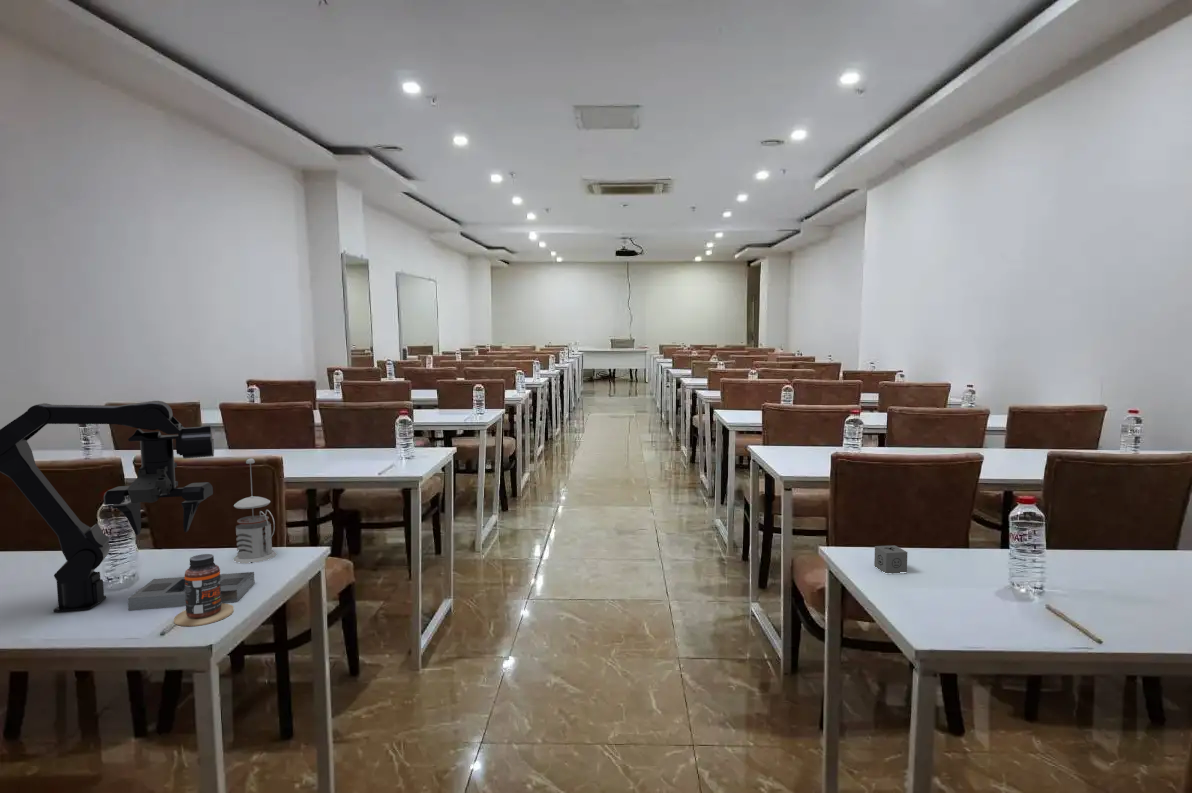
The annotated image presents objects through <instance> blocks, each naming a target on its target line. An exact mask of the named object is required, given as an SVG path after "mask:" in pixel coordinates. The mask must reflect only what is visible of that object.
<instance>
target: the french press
mask: <svg viewBox="0 0 1192 793" xmlns="http://www.w3.org/2000/svg"><path fill="white" fill-rule="evenodd" d="M255 462H256V461H255V459H254V458H248V459H246V460H245V464H247V465H248V464H249V470H250V471H249V473H250V476H249V477H250V493H251V496H248V497H245V498H241V499H240V500H238V501H236V502H235V503H234V505H233V507H234V508H235V509H241V510H246V509H247V510H248V509H249V510H250V509H251V512H252V515H249V516H243V517H241V518H239V519H237V520H236V523H237V524H238V525H236V526H235V534H236V536H237V537H236V539H235V540H236V546H237V547H236V551H237V553H236V554H237V555H235V557H233V559H234V561H236V562H240V563H239V564H242V563H245V564H250V563H249V562H256V563H260V562H259V561H262V562H264V561H263V560H265V561H269V560H271V559H273V558H275V557H276V556H277V552H276V551H275V550H274V549H273V544H272V543H273V542H272V540H273V539H272V537H273V535H274V534H275V528H276V526H275V525H276V523H275V519H274V516H273V514H272V513H271V511H270V510H269V509H265V513H264V512H263V511H262V510H259V515H254V509H256V508H258V509H259V508H263V507H266V506H268V505H270V503H271V500H270V499H268V498H266V497H262V496H255V495H254V496H253V478H252V477H253V476H252V464H255ZM268 513H269V515H270V516H271V519H272V522H273V530H272V526H271V525H272V523H271V522H270V521H269V519H270V516H267V514H268ZM263 529H264V530H263ZM264 533H265V534H264ZM270 558H271V559H270ZM268 559H269V560H268Z"/></svg>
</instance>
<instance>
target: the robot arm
mask: <svg viewBox="0 0 1192 793" xmlns="http://www.w3.org/2000/svg"><path fill="white" fill-rule="evenodd" d="M47 425H118V426H125V427H129V428H134V429H136V430H135V431H134V433H133V434H132V435H131V436H130V437H129V438H127V441H128V442H131V443H132V442H139V444H140V445H139V447H140V459H141V460H140V463H141V467H139V468H138V471H137V472H138V473H137V474H138V475H137V478H136V479H135V480H133V482H132V483H131V484H130V485H121V486H119V485H118V486H116V487H113V488H111V489H109V490H106V492H104V494H103V505H104V506H110V507H111V509H116V510H118V511H120V512H122V514H124V516H125V518H126V520H127V521H128V523H129V524H130V527H131V528H132V531H133V533H134V534H135V535H136V536H139V535H140V534H141V532H142V530H141V529H142V514H141V513H142V512H141V509H142V508H141V503H148V504H150V503H151V504H152V503H155V502H158V500H159V498H173V497H174V498H175V497H182V499H184V501H182V502H181V503H180V504H181V506H182V509H183V515H182V516H183V524H182V526H183V532H184V533H188V532H189V529H190V527H191V524H192V522H193V519H194V516H195V514H196V512H197V510H198V507H199V506H200V503H202V502H203V501H204V500H207V498H209V497H210V496H213V494H214V490H213V489H214V487H213V485H212V484H211V483H210V482H206V481H205V482H192V483H189V484H187V485H186V486H183V487H179V481H178V480H176V472H175V471H176V470H175V468H177V467H178V462H175V456H174V439H175V450H176V451H175V452H176V454H177V455H178V456H182V459H184V460H185V459H196V458H211V457H214V456H215V441H214V438H213V430H212V426H211V425H202V426H193V427H192V426H191V427H184V426H183V424H182V423H180V421H179V420H177V418H176V417H174V416H173V409H172V407H171V405H169V404H168V403H166V402H165V401H162V400H152V401H143V402H142V401H141V402H136V403H135V402H134V403H130V404H122V405H109V404H108V405H104V404H103V405H101V404H100V405H99V404H98V405H95V404H92V405H91V404H50V403H48V402H47V403H45V402H43V403H39V404H34V405H32V406H30V407H29V408H28V409H27V410H26V411H25V412H24V413H22V414H21V415H19V416H18V417H16V418H15V419H13V420H12V421H10V422H9V423H7V424H6V425H4V426H3V427H2V428H0V473H1V474H3V475H5V476H6V477H8V478H9V479H10V480H11V481H12V482H13V483H14V485H16V487H17V488H18V489H19V491H20V493H22V494H23V496H24V497H25V498H26V500H28V502H29V503H30V504H31V505H32V507H33V508H34V509H35V510H36V512H38V514H39V516H41V518H43V520H44V521H45V523H47V525H48V526H49V528H51V530H52V531H53V532H54V533H55V535H56V537H57V539H58V543H59V545H60V549H61V552H62V553H63V557H64V559H65V560H66V561H65V563H63V564H62V565H61V566H60V568H59V569H58V570H57V571H56V572H55V573H54V575H53V577H54V579H55V581H56V591H57V605H58V606H56V608H53V613H61V612H74V611H85V610H91V609H92V608H94V607H95V606H97V605H99V603H101V602H102V601H104V600H106V599H107V595H106V594H105V588H104V580H103V579H102V578H101V572H100V571H95V570H96V569H97V568H98V567H100V565H101V564H102V562H103V561H104V560H105V559H106V557H108V554H110V548H111V547H110V542H109V540H110V539H111V537H110V536H108V535H106V534H105V533H104V531H102V529H101V526H100V524H98V523H95V524H94V525H93V526H89V525H88V524H85V523H84V522H82V521H81V520H80V519H79V517H78V516H77V515H76V513H75V512H74V511H73V510H72V509H71V507H70V506H69V505H68V503H67V502H66V501H65V499H64V498H63V497H62V495H60V494H59V493H58V491H57V489H55V487H54V486H53V485H52V484H51V482H50V481H49V480H48V478H47V477H46V476H45V475H44V474H43V472H42V471H41V469H39V467H38V466H37V463H36V461H35V457H34V453H33V451H32V448H31V446H30V444H29V442H28V441H29V440H30V439H31V438H33V437H34V436H35V435H36V434H38V433H39V432H40V431H41V430H42V429H44V427H45V426H47ZM144 430H147V431H144ZM148 430H149V431H148ZM156 430H158V431H156ZM161 432H162V433H165V434H166V435H165V434H164V435H163V434H162V433H161Z"/></svg>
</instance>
